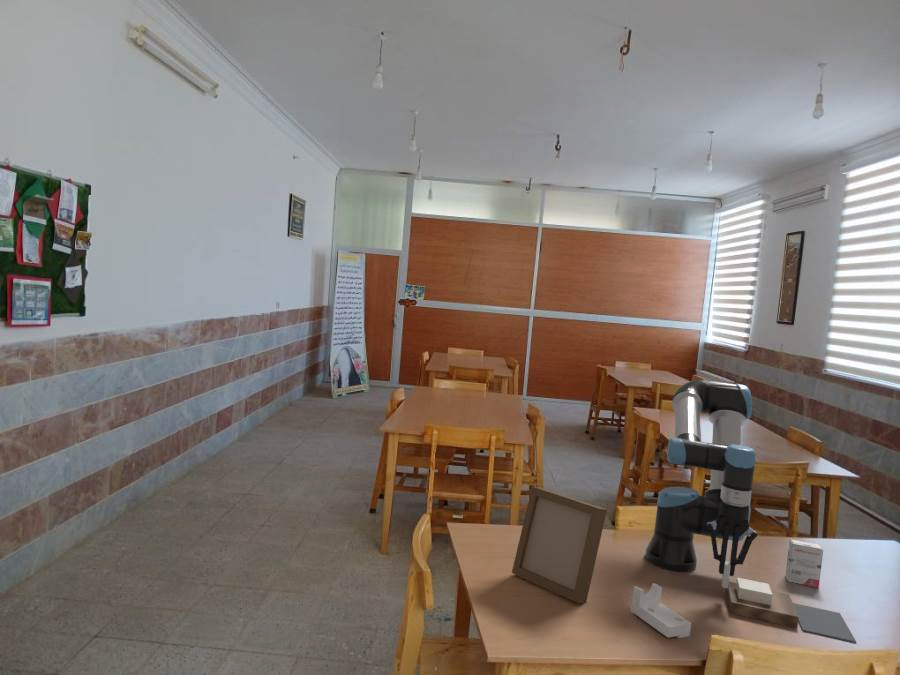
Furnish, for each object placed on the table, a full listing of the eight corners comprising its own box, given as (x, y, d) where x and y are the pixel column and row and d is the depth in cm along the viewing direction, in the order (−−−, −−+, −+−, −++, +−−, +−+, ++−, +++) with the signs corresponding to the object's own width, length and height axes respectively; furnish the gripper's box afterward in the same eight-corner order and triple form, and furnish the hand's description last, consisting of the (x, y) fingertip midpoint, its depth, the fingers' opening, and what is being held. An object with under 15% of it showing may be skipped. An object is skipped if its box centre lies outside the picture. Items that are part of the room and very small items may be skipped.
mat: (802, 631, 162) (802, 629, 162) (790, 603, 178) (791, 602, 178) (856, 643, 159) (856, 641, 159) (839, 614, 174) (839, 613, 174)
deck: (730, 613, 169) (731, 602, 169) (725, 591, 182) (726, 581, 182) (797, 628, 164) (798, 617, 163) (787, 604, 177) (788, 594, 177)
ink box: (815, 581, 195) (820, 543, 194) (819, 588, 190) (824, 549, 189) (784, 575, 197) (788, 538, 197) (786, 581, 193) (791, 543, 192)
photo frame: (577, 606, 165) (588, 512, 163) (511, 576, 179) (520, 489, 178) (606, 591, 176) (616, 502, 174) (541, 563, 190) (550, 481, 189)
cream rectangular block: (738, 598, 171) (739, 587, 171) (735, 587, 178) (737, 577, 178) (771, 605, 169) (772, 594, 168) (767, 594, 175) (768, 583, 175)
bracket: (630, 614, 164) (633, 586, 163) (651, 611, 167) (654, 583, 166) (667, 641, 152) (671, 611, 151) (689, 637, 155) (693, 607, 154)
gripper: (709, 501, 172) (699, 585, 174) (762, 511, 168) (751, 597, 170) (708, 494, 179) (699, 575, 181) (759, 503, 175) (749, 586, 177)
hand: (724, 585), depth 175 cm, fingers closed
